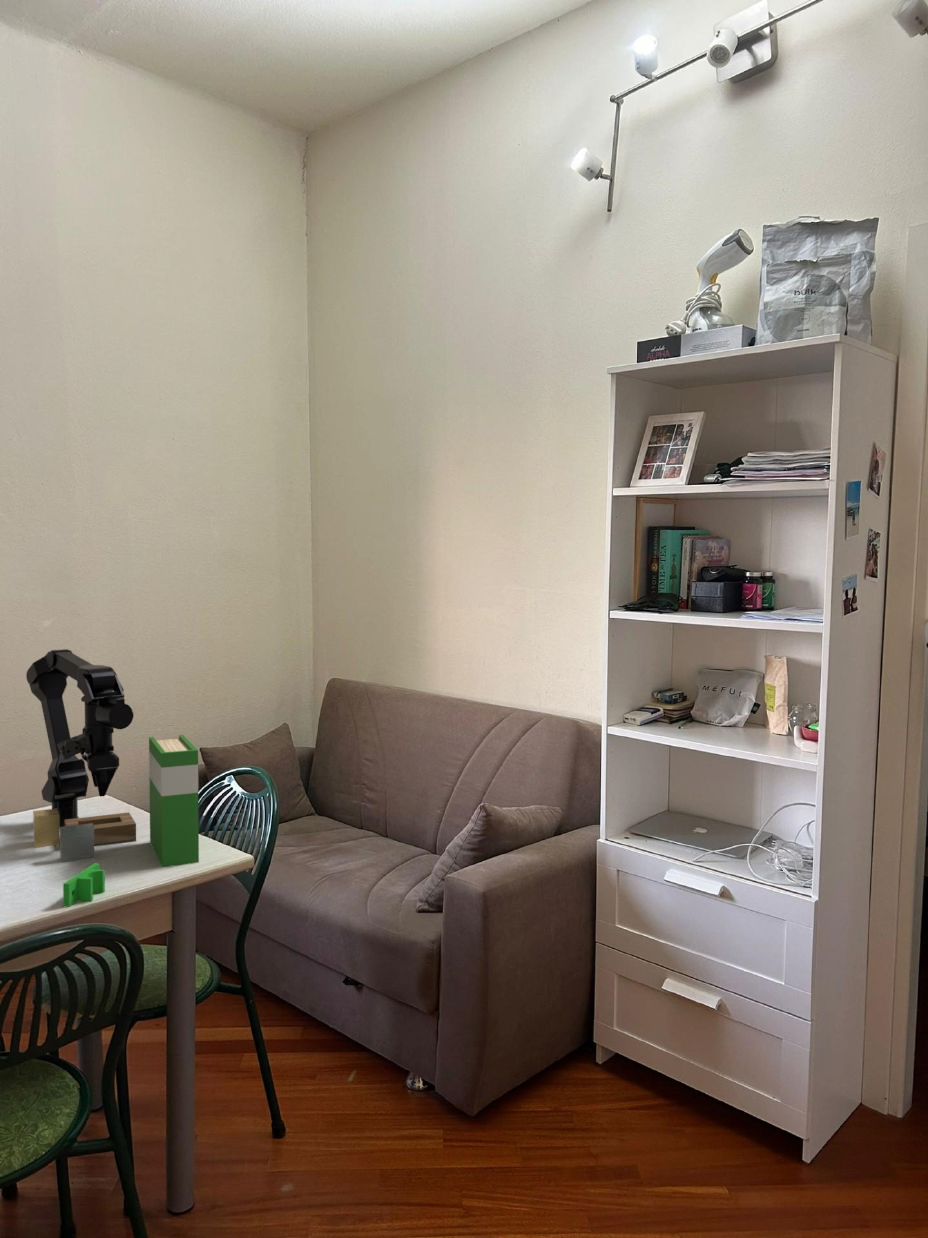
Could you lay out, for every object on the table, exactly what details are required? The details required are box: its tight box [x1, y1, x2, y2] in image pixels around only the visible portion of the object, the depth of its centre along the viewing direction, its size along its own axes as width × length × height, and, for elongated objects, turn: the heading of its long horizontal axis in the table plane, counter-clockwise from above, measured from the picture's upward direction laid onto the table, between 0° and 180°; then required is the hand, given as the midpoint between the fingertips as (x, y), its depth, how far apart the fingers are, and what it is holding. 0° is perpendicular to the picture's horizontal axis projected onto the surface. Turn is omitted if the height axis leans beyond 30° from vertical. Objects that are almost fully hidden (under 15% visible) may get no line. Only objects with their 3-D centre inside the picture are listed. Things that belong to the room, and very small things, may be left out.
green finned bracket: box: [62, 863, 106, 908], centre depth 177 cm, size 11×4×5 cm, turn 173°
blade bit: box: [59, 823, 96, 864], centre depth 198 cm, size 2×6×7 cm, turn 118°
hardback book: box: [148, 734, 200, 868], centre depth 203 cm, size 18×7×24 cm, turn 26°
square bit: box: [32, 808, 60, 849], centre depth 208 cm, size 5×5×7 cm
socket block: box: [65, 811, 137, 847], centre depth 212 cm, size 10×14×4 cm
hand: (99, 791), depth 211 cm, fingers open, 9 cm apart
